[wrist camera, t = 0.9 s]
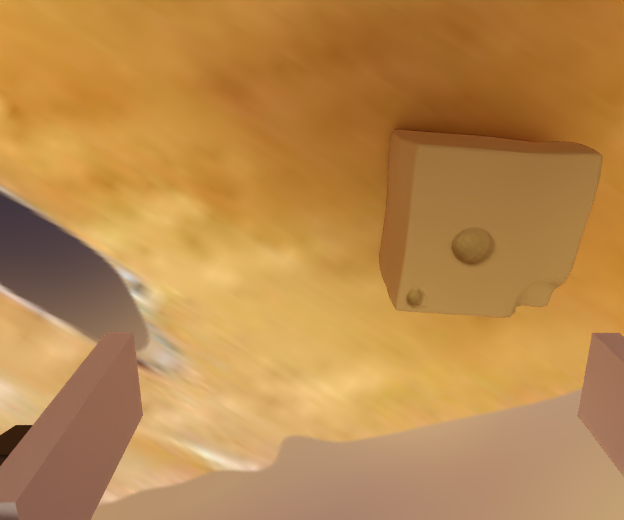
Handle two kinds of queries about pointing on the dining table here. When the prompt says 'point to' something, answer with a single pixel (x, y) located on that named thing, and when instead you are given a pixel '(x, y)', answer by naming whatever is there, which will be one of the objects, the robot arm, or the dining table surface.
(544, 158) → the cheese
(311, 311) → the dining table surface
